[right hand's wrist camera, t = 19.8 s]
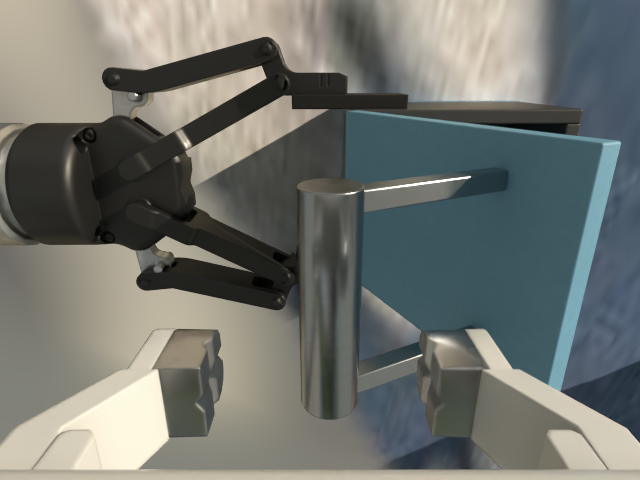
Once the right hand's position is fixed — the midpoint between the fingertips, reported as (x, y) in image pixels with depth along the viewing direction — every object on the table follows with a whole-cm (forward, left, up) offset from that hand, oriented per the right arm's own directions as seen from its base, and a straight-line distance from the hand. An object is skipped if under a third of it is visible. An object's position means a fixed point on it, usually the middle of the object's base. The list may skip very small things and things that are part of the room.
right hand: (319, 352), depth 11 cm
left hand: (-2, -5, -18) cm, 18 cm away
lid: (-2, -5, -9) cm, 10 cm away
